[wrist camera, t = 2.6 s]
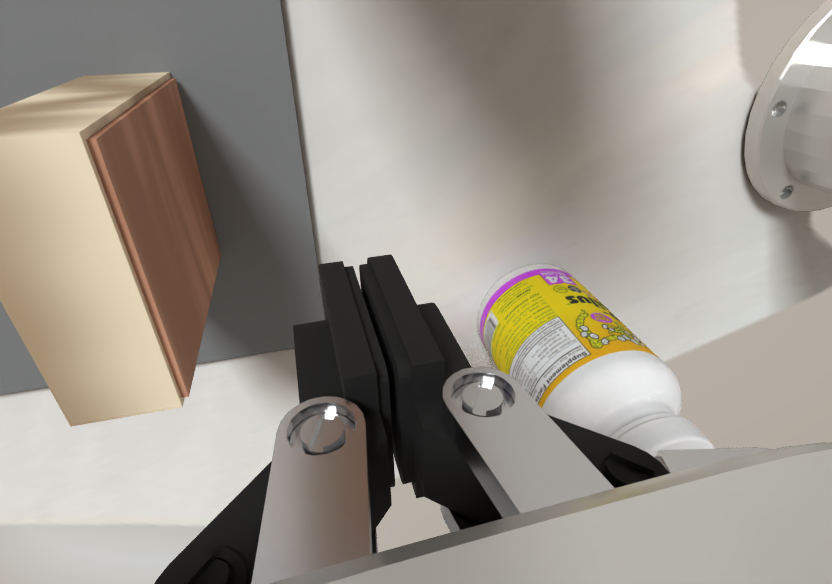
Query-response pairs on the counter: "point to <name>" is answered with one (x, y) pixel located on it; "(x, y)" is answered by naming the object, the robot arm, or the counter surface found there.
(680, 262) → the counter surface
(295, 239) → the rubber mat
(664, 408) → the supplement bottle
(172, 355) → the birch tile
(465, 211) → the counter surface
